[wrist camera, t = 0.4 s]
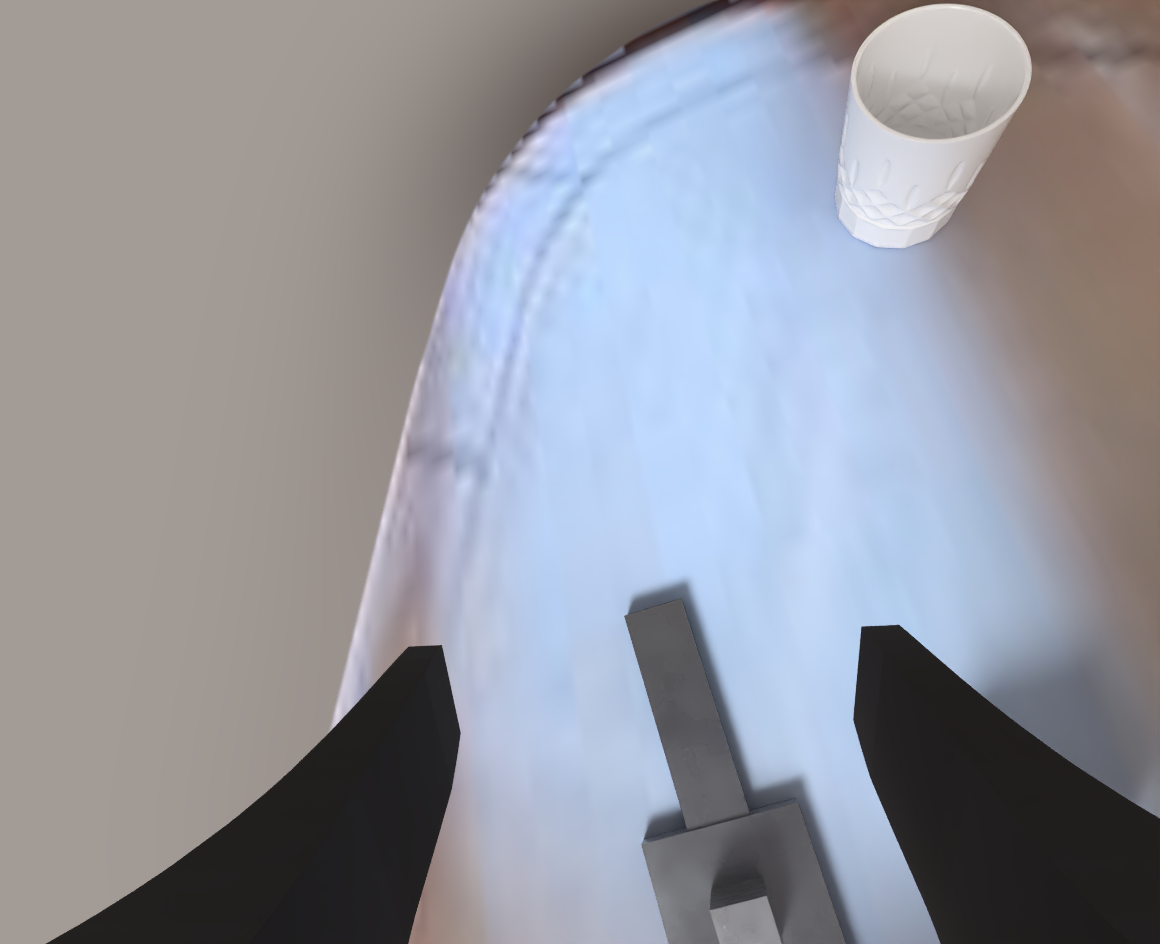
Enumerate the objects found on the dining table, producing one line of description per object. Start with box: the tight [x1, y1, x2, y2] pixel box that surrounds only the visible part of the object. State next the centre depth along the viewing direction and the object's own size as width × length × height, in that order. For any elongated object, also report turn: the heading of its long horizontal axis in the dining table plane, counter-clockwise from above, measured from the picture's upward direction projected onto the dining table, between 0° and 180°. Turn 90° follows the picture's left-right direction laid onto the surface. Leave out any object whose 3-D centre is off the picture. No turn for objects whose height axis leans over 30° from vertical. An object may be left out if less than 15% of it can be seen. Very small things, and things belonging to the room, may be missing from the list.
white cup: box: [835, 4, 1032, 248], centre depth 39 cm, size 8×8×10 cm
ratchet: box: [624, 599, 846, 944], centre depth 35 cm, size 19×8×4 cm, turn 16°
